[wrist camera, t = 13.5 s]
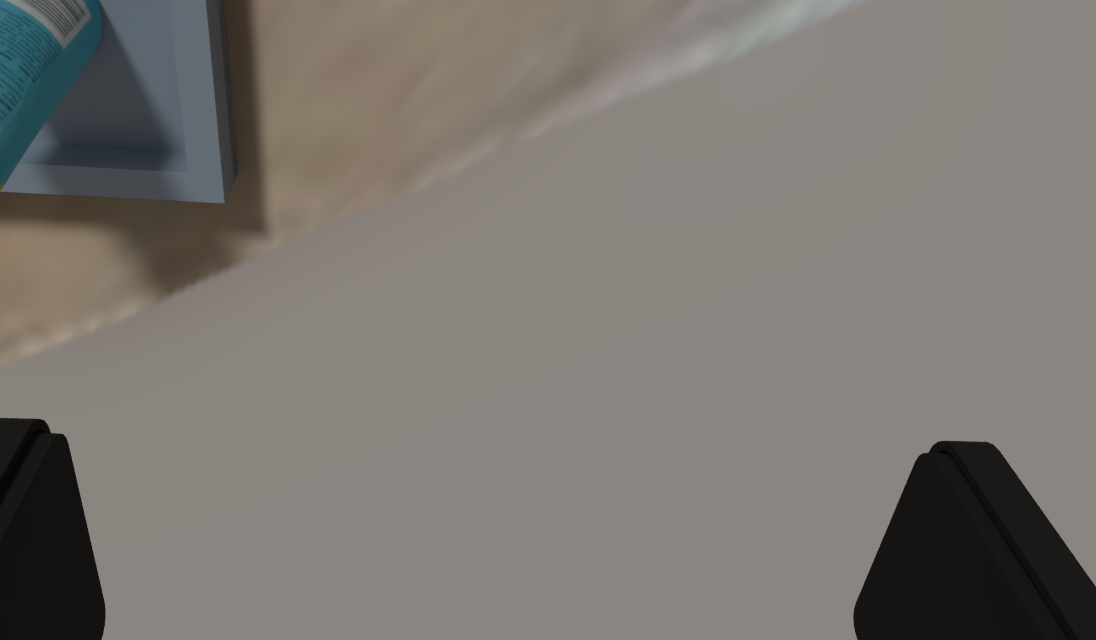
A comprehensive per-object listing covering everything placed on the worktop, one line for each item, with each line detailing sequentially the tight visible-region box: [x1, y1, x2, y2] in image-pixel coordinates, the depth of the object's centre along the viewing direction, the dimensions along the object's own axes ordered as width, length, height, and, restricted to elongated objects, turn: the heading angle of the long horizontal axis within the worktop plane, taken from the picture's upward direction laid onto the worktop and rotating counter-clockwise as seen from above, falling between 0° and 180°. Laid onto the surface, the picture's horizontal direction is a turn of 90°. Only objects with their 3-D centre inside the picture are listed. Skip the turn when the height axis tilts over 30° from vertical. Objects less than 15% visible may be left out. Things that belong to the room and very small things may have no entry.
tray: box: [0, 0, 237, 203], centre depth 39 cm, size 14×14×3 cm
